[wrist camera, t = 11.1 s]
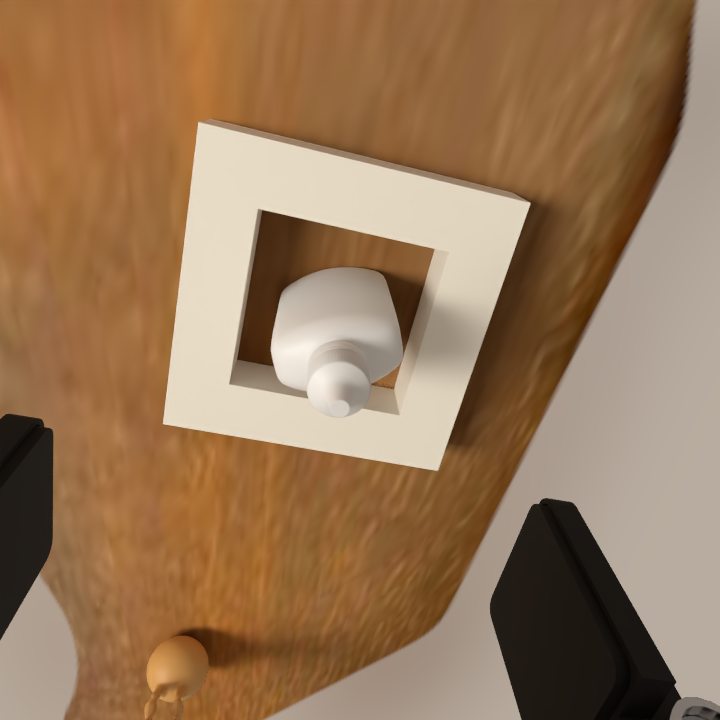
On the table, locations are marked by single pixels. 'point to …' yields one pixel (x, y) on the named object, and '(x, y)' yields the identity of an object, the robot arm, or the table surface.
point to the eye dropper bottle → (336, 337)
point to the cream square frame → (354, 212)
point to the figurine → (175, 673)
